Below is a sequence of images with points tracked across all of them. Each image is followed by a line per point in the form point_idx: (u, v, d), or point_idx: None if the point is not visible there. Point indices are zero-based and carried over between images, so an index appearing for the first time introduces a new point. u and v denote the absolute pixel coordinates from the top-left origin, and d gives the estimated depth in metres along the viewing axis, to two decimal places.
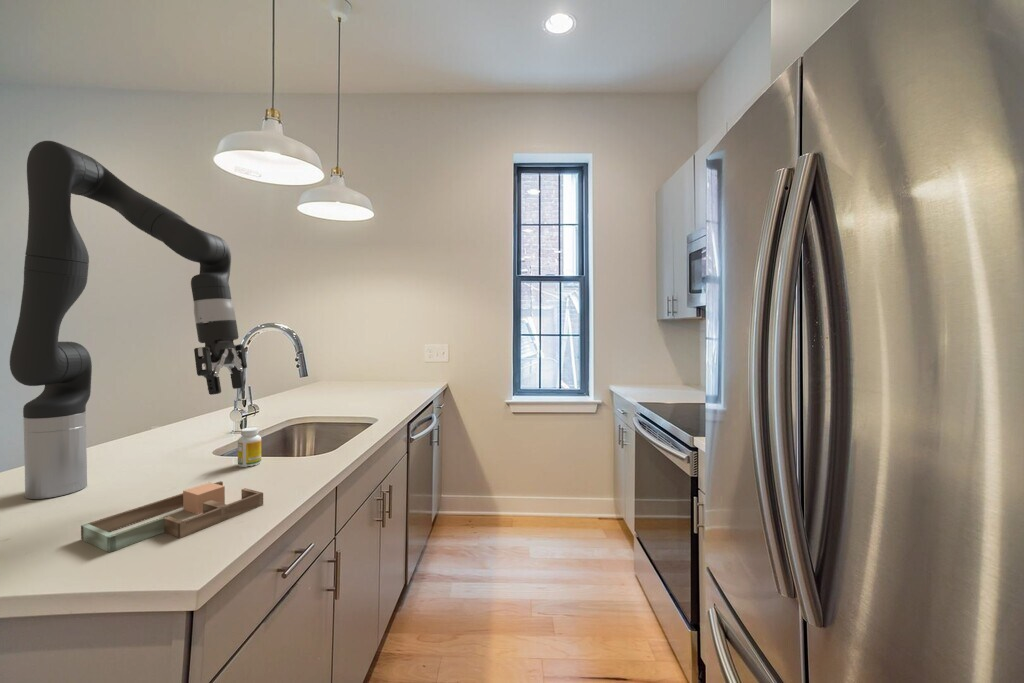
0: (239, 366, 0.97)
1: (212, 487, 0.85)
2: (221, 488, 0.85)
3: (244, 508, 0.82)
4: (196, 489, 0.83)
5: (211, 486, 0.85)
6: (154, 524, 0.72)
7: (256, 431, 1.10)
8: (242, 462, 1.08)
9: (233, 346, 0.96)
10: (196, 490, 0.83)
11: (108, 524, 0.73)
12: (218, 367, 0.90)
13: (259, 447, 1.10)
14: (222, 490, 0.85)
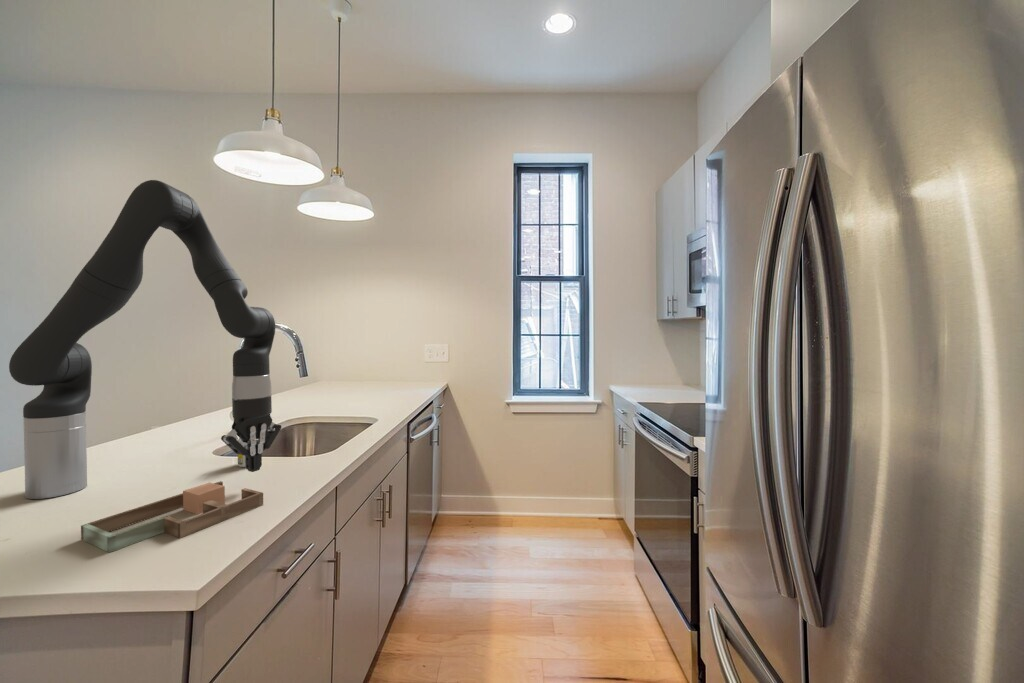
0: (260, 446, 0.93)
1: (212, 487, 0.85)
2: (221, 488, 0.85)
3: (244, 508, 0.82)
4: (196, 489, 0.83)
5: (211, 486, 0.85)
6: (154, 524, 0.72)
7: None
8: (242, 462, 1.08)
9: (269, 420, 0.95)
10: (196, 490, 0.83)
11: (108, 524, 0.73)
12: (252, 446, 0.92)
13: None
14: (222, 490, 0.85)
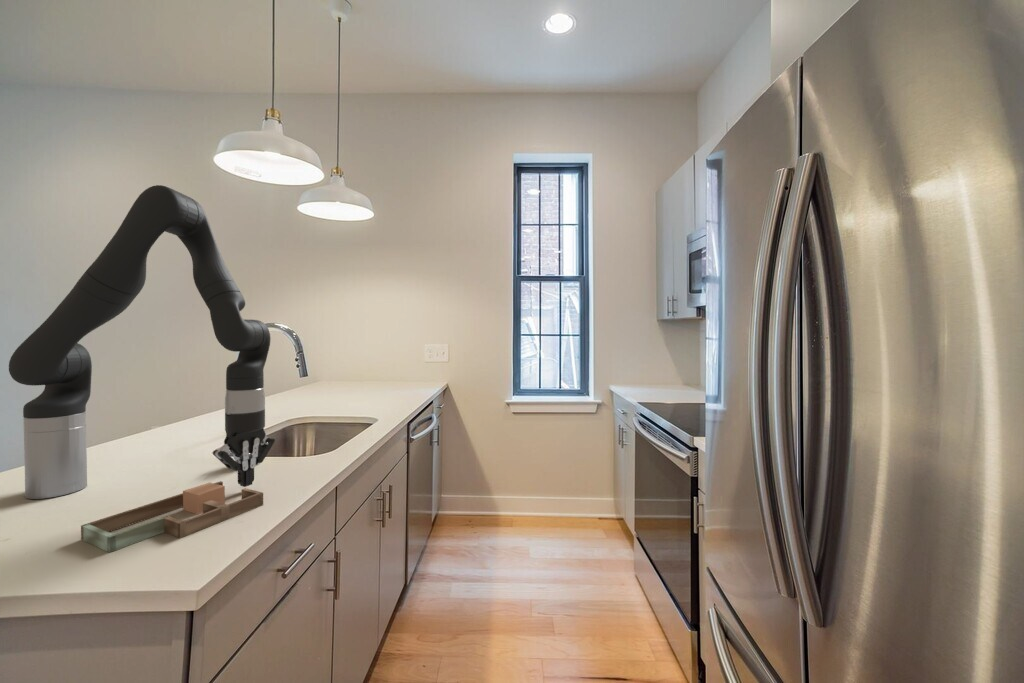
0: (252, 461, 0.92)
1: (212, 487, 0.85)
2: (221, 488, 0.85)
3: (244, 508, 0.82)
4: (196, 489, 0.83)
5: (211, 486, 0.85)
6: (154, 524, 0.72)
7: None
8: None
9: (263, 433, 0.94)
10: (196, 490, 0.83)
11: (108, 524, 0.73)
12: (245, 461, 0.90)
13: None
14: (222, 490, 0.85)
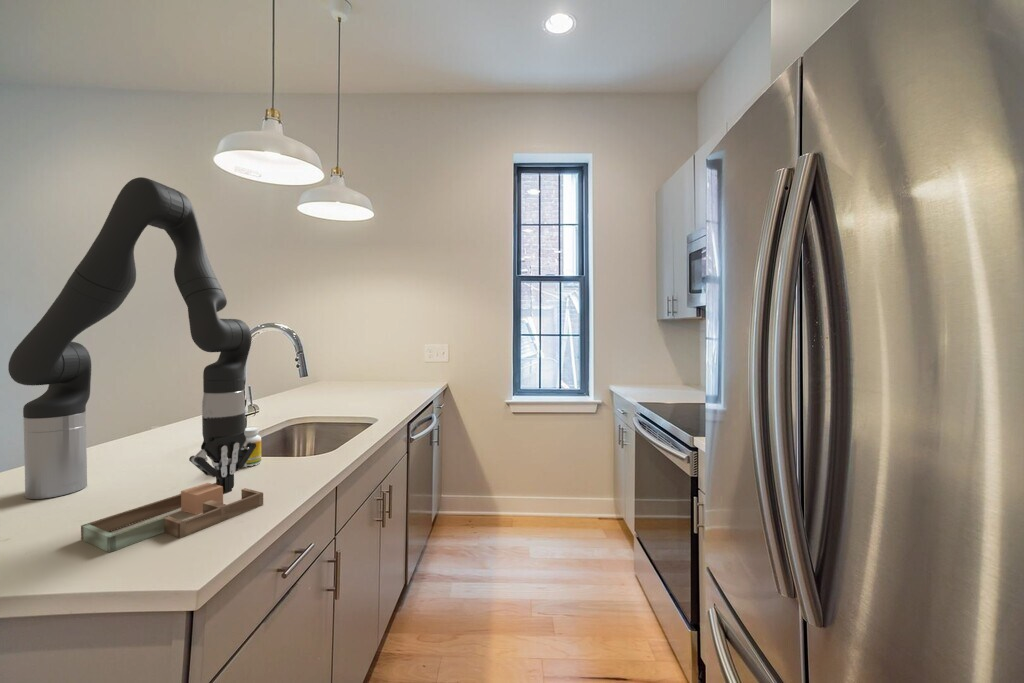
0: (232, 467, 0.88)
1: (210, 487, 0.84)
2: (219, 488, 0.84)
3: (244, 508, 0.82)
4: (194, 490, 0.83)
5: (209, 486, 0.85)
6: (154, 524, 0.72)
7: (256, 431, 1.10)
8: None
9: (243, 438, 0.90)
10: (194, 491, 0.82)
11: (108, 524, 0.73)
12: (223, 467, 0.86)
13: (259, 447, 1.10)
14: (220, 490, 0.85)
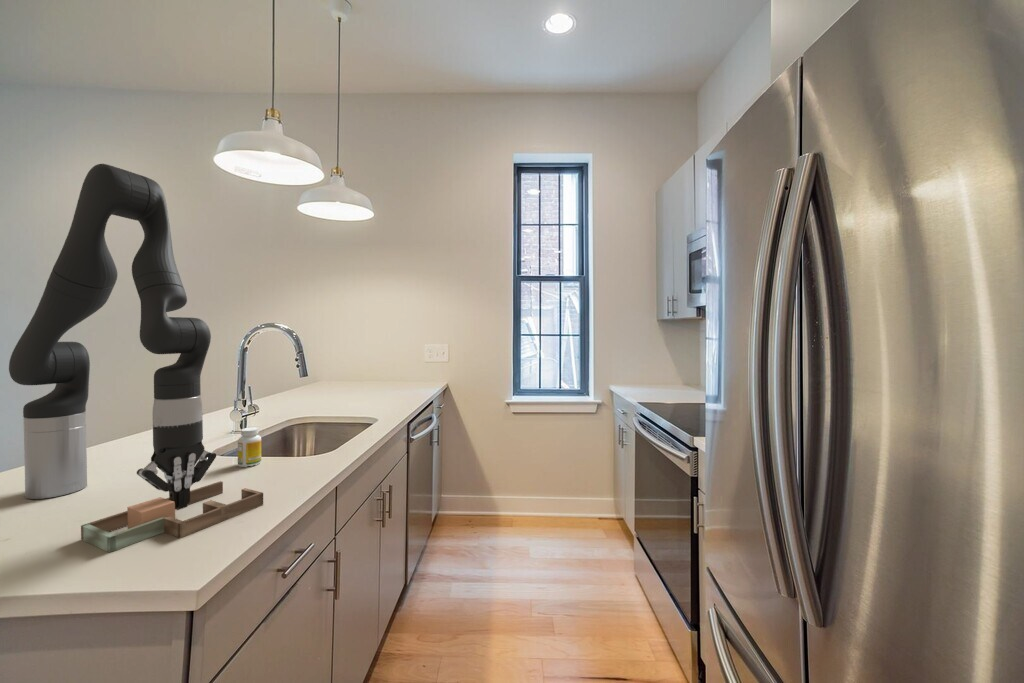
0: (187, 480, 0.80)
1: (161, 503, 0.76)
2: (170, 504, 0.76)
3: (244, 508, 0.82)
4: (142, 506, 0.75)
5: (159, 502, 0.77)
6: (154, 524, 0.72)
7: (256, 431, 1.10)
8: (242, 462, 1.08)
9: (200, 448, 0.82)
10: (141, 507, 0.74)
11: (108, 524, 0.73)
12: (177, 480, 0.78)
13: (259, 447, 1.10)
14: (171, 506, 0.77)
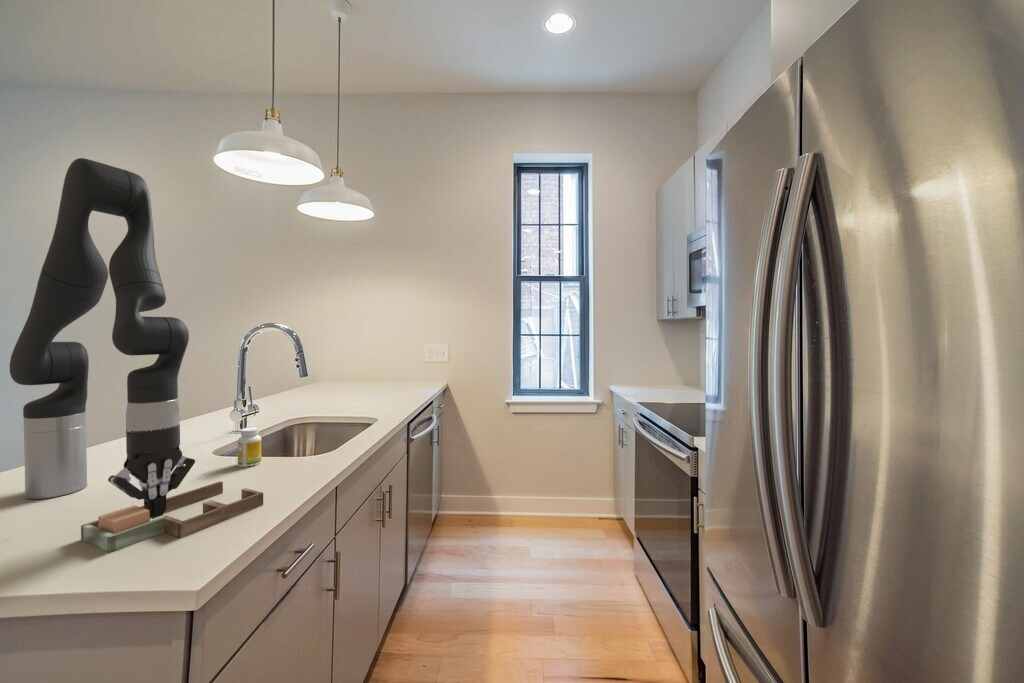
0: (163, 487, 0.76)
1: (134, 512, 0.73)
2: (145, 513, 0.73)
3: (244, 508, 0.82)
4: (114, 515, 0.71)
5: (133, 510, 0.73)
6: (154, 524, 0.72)
7: (256, 431, 1.10)
8: (242, 462, 1.08)
9: (178, 453, 0.79)
10: (113, 516, 0.71)
11: None
12: (152, 488, 0.75)
13: (259, 447, 1.10)
14: (146, 515, 0.73)
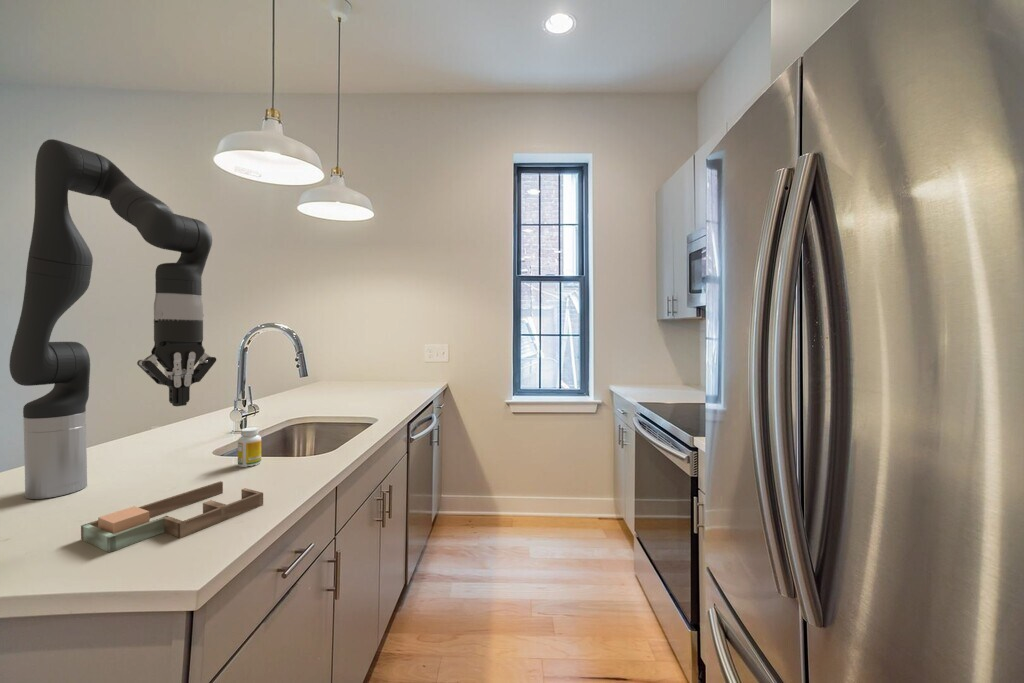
0: (187, 378, 0.81)
1: (134, 513, 0.73)
2: (145, 514, 0.73)
3: (244, 508, 0.82)
4: (113, 516, 0.71)
5: (133, 511, 0.73)
6: (154, 524, 0.72)
7: (256, 431, 1.10)
8: (242, 462, 1.08)
9: (201, 349, 0.83)
10: (113, 517, 0.71)
11: None
12: (177, 376, 0.79)
13: (259, 447, 1.10)
14: (146, 516, 0.73)
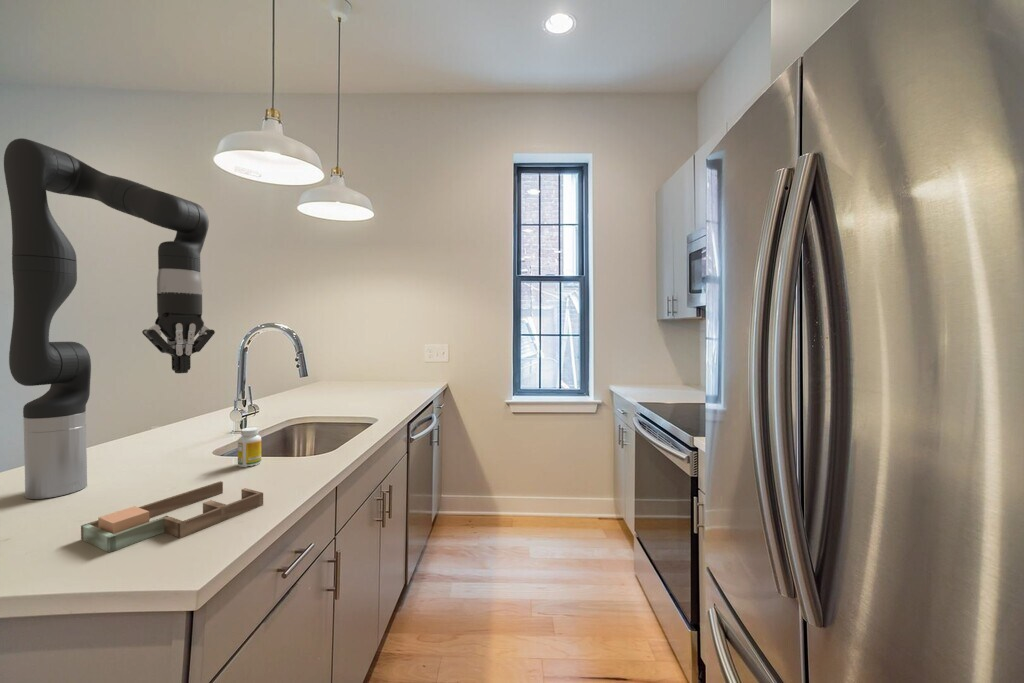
0: (188, 347, 0.88)
1: (134, 513, 0.73)
2: (144, 514, 0.73)
3: (244, 508, 0.82)
4: (113, 516, 0.71)
5: (133, 512, 0.73)
6: (154, 524, 0.72)
7: (256, 431, 1.10)
8: (242, 462, 1.08)
9: (200, 322, 0.90)
10: (113, 517, 0.71)
11: None
12: (179, 345, 0.86)
13: (259, 447, 1.10)
14: (145, 516, 0.73)
